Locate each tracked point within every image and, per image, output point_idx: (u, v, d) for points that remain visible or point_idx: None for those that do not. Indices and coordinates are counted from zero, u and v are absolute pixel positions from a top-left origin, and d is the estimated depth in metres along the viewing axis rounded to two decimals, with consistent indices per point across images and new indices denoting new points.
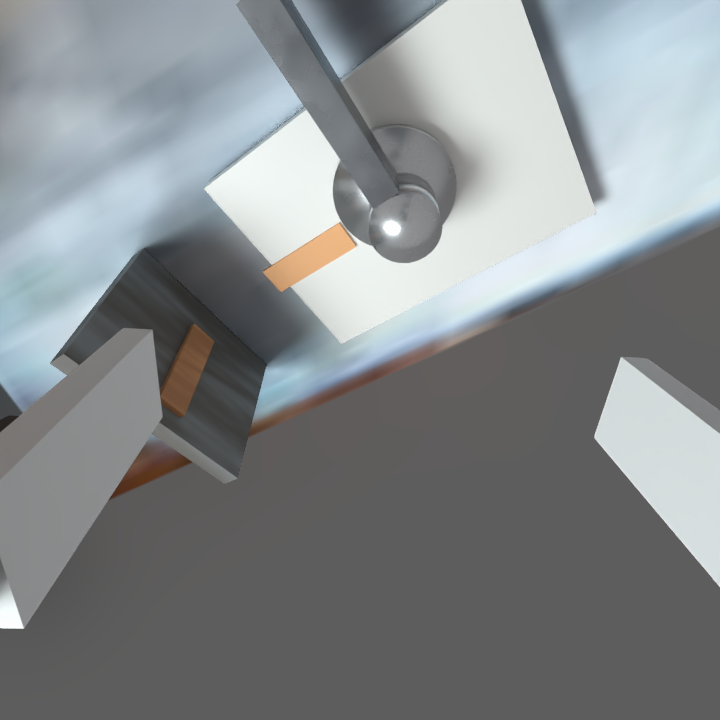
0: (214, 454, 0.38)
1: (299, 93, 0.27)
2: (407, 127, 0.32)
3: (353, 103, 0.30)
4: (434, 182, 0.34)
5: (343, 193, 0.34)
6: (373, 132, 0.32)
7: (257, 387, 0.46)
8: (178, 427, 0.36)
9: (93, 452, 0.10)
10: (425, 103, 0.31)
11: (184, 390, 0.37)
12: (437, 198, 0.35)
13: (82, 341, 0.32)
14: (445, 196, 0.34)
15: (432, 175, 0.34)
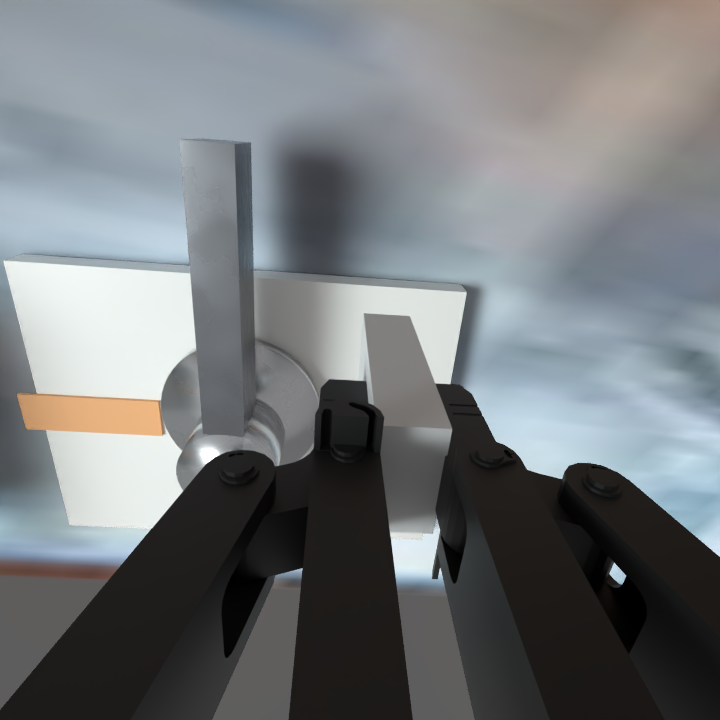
0: None
1: (194, 272, 0.19)
2: (295, 364, 0.26)
3: (253, 311, 0.23)
4: (290, 430, 0.28)
5: (183, 380, 0.26)
6: (257, 346, 0.25)
7: None
8: None
9: None
10: (327, 353, 0.27)
11: None
12: (284, 446, 0.28)
13: None
14: (294, 449, 0.28)
15: (292, 423, 0.27)
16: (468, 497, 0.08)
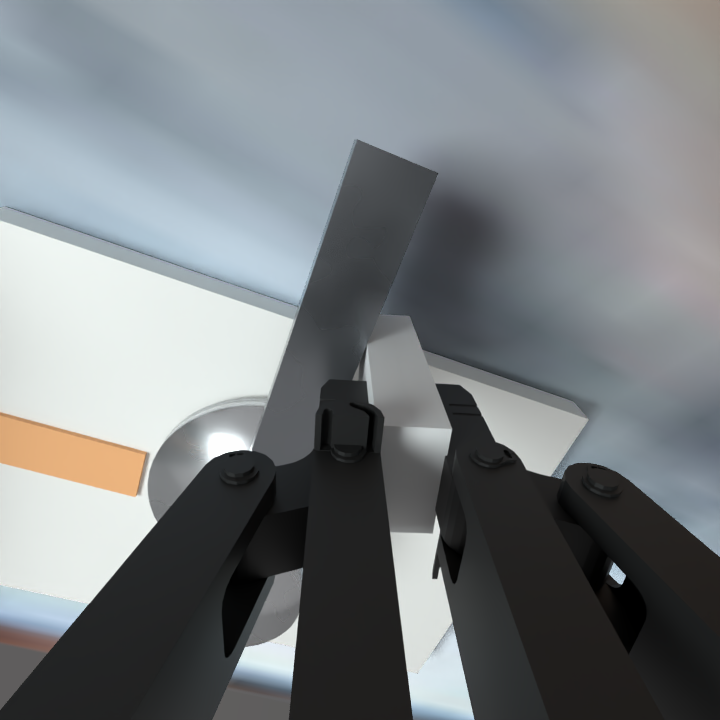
0: None
1: (297, 336, 0.13)
2: None
3: None
4: None
5: (194, 441, 0.18)
6: None
7: None
8: None
9: None
10: None
11: None
12: None
13: None
14: None
15: None
16: (468, 497, 0.08)
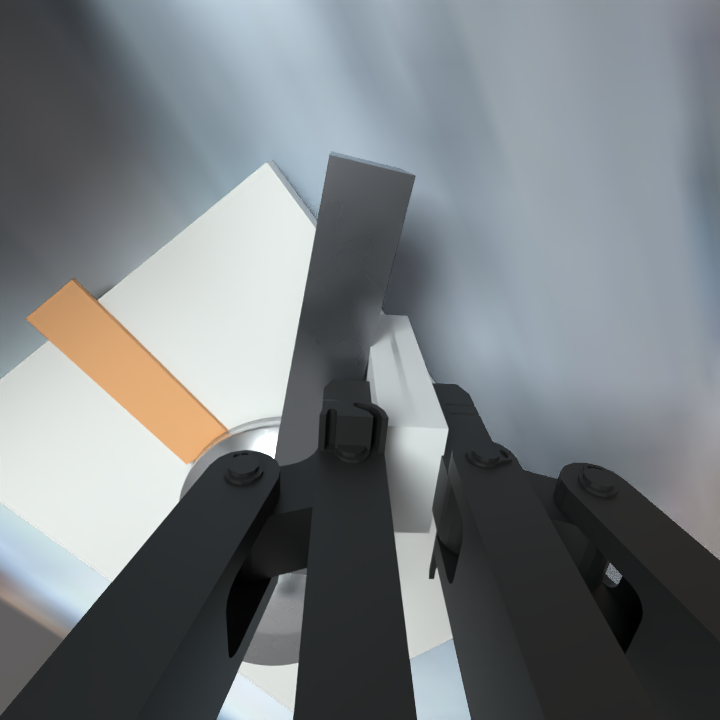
0: None
1: (299, 356, 0.13)
2: None
3: None
4: None
5: None
6: None
7: None
8: None
9: None
10: (431, 531, 0.22)
11: None
12: None
13: None
14: None
15: None
16: (464, 498, 0.08)
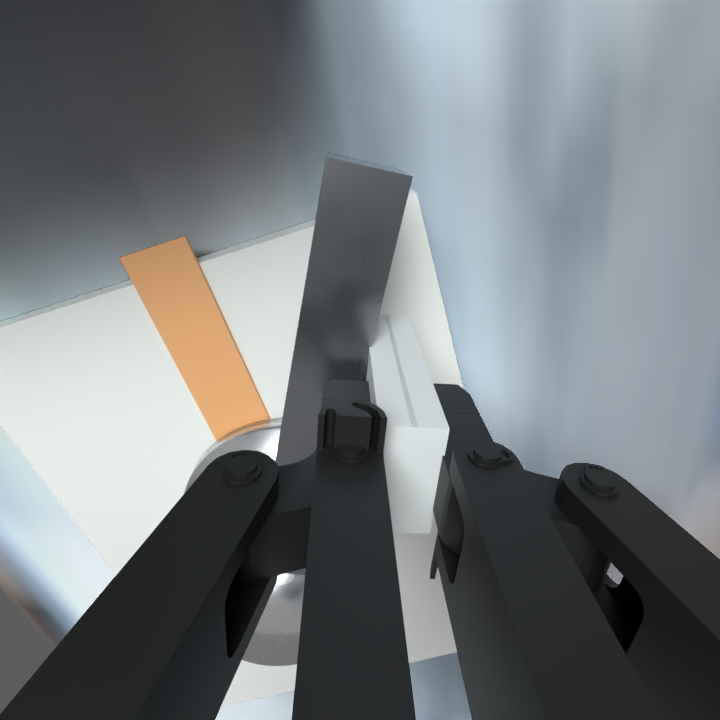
0: None
1: (299, 358, 0.13)
2: None
3: None
4: None
5: None
6: None
7: None
8: None
9: None
10: (418, 564, 0.23)
11: None
12: None
13: None
14: None
15: None
16: (465, 498, 0.08)
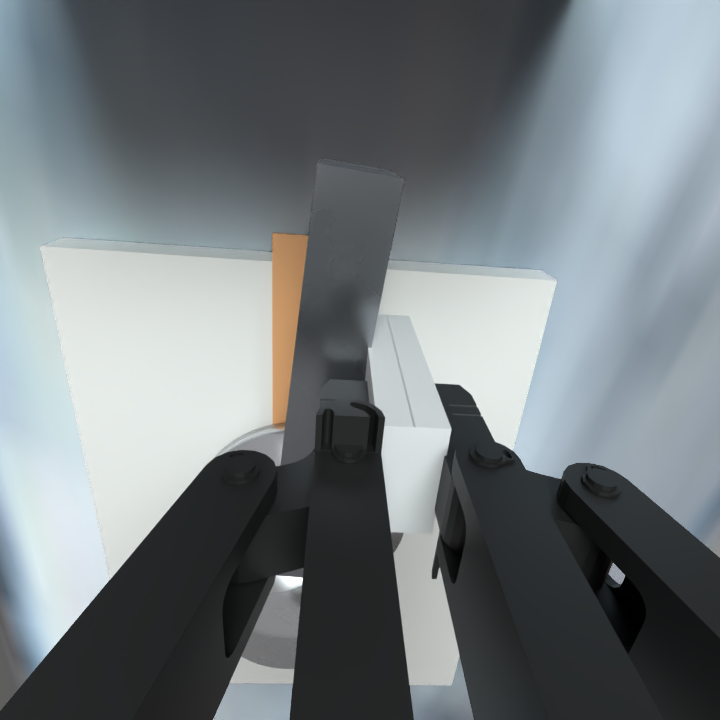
0: None
1: (299, 364, 0.13)
2: None
3: None
4: None
5: None
6: None
7: None
8: None
9: None
10: None
11: None
12: None
13: None
14: None
15: None
16: (467, 498, 0.08)
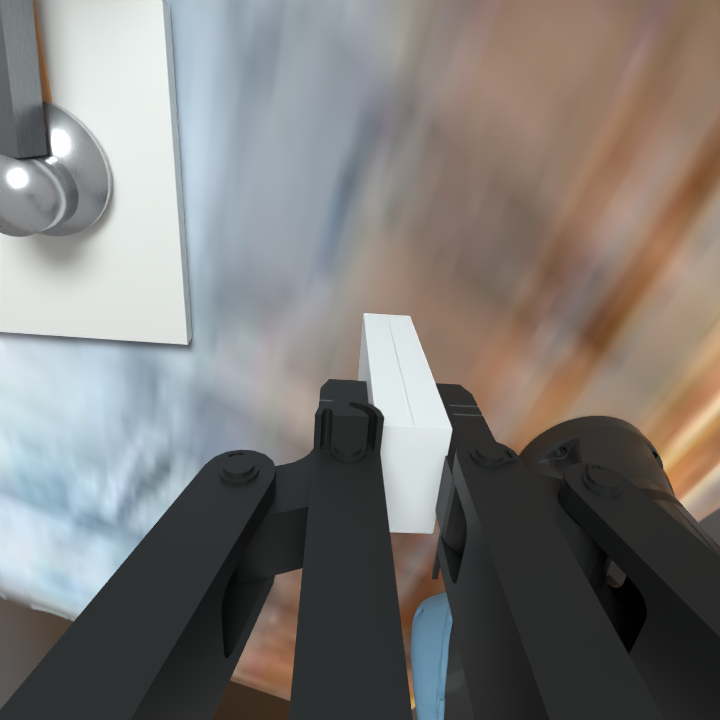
0: None
1: None
2: (83, 127, 0.32)
3: (35, 61, 0.29)
4: (83, 192, 0.33)
5: None
6: (48, 104, 0.31)
7: None
8: None
9: None
10: (127, 256, 0.37)
11: None
12: (79, 207, 0.34)
13: None
14: (87, 212, 0.34)
15: (84, 184, 0.33)
16: (468, 498, 0.08)
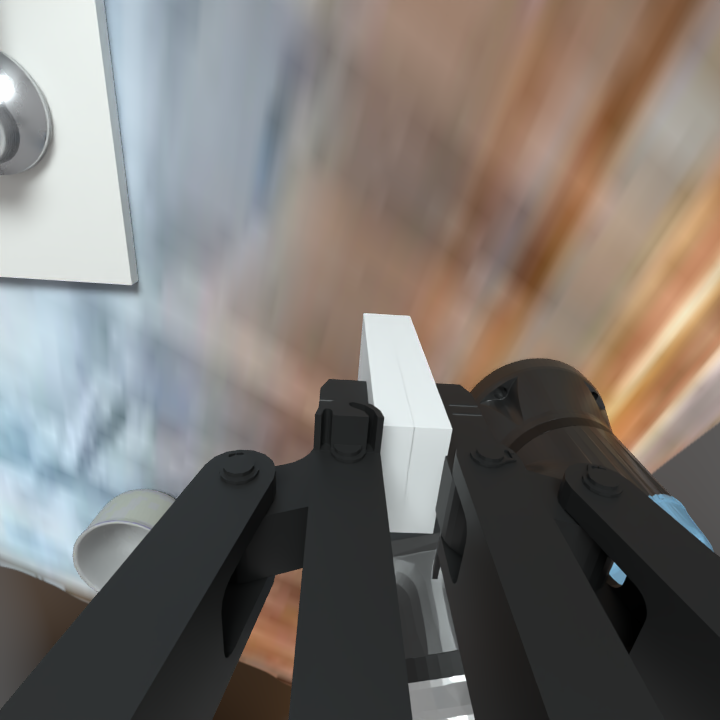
0: None
1: None
2: (21, 69, 0.35)
3: None
4: (23, 131, 0.36)
5: None
6: None
7: None
8: None
9: None
10: (70, 196, 0.39)
11: None
12: (20, 146, 0.37)
13: None
14: (28, 150, 0.37)
15: (24, 123, 0.36)
16: (468, 498, 0.08)
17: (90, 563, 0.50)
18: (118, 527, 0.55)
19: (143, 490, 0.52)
